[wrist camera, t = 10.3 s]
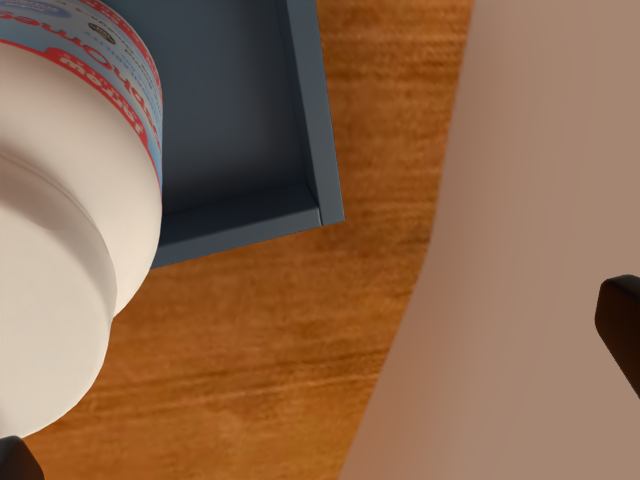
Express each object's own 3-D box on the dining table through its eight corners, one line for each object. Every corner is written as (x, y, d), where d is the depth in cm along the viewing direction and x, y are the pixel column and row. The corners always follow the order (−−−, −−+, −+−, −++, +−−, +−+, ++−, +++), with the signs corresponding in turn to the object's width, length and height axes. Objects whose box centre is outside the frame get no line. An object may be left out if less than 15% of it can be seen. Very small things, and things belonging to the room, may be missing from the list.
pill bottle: (203, 85, 18) (254, 303, 8) (78, 217, 19) (0, 537, 9) (22, -80, 14) (-227, -28, 5) (-114, 92, 16) (-516, 388, 6)
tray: (266, -199, 15) (286, -217, 13) (325, 185, 21) (345, 221, 19) (-395, -99, 13) (-514, -97, 11) (-113, 291, 19) (-149, 346, 17)
